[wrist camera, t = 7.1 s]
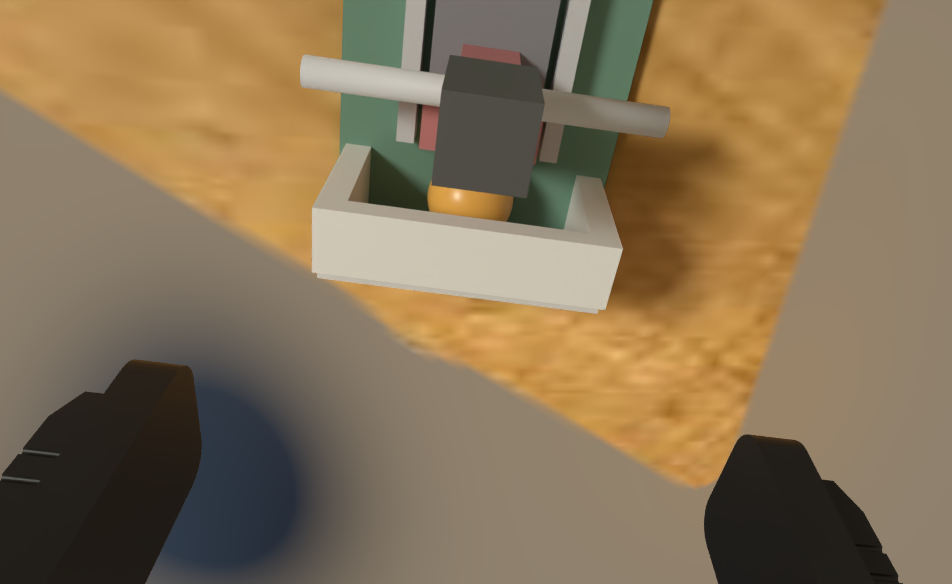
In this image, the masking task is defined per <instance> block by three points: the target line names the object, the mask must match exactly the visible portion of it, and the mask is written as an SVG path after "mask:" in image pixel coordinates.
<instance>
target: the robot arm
mask: <svg viewBox="0 0 952 584" xmlns="http://www.w3.org/2000/svg"><path fill="white" fill-rule="evenodd" d="M201 449H202V441H201V432H200V424H199V417H198V409H197V402H196V393H195V386H194V378H193V373H192V370H191V369H190V368H189V367H188V366H185V365H176V364H169V363H160V362H152V361H143V360H131V361H129V362H128V363H127V364H126V365H125V366H124V367H123V368H122V369H121V371H120V372H119V374H118V375H117V376H116V378H115V379H114V380H113V382H112V383H111V384H110V386H109V387H108V389H107V390H106V391H105V393H104V394H101V393H92V392H84V393H82V394H81V395H79V396H78V397H76V398H75V399H73V400H72V401H71V402H69V403H68V404H66V405H65V406H63V407H62V408H60V409H59V410H57V411H56V412H54V413H53V414H52V415H50V416H48V418H47V419H46V420H45V421H44V422H43V424H42V425H41V426H40V428H39V429H38V430H37V431H36V432H35V434H34V435H33V437H32V438H31V439H30V440H29V441H28V443H27V444H26V445H25V446H24V448H23V453H22V454H18V455H17V456H16V458H15V459H14V460H13V461H12V463H11V464H10V465H9V466H8V468H7V469H6V470H5V471H4V473H3V474H2V479H1V481H0V584H145V583H146V581H147V578H148V576H149V575H150V572H151V570H152V568H153V566H154V564H155V562H156V560H157V558H158V556H159V554H160V552H161V550H162V548H163V546H164V543H165V542H166V539H167V537H168V535H169V533H170V531H171V529H172V527H173V525H174V523H175V521H176V519H177V517H178V515H179V513H180V511H181V508H182V506H183V504H184V502H185V500H186V498H187V496H188V494H189V492H190V490H191V488H192V486H193V483H194V481H195V478H196V475H197V472H198V468H199V464H200V459H201ZM704 532H705V539H706V544H707V548H708V551H709V554H710V558H711V561H712V564H713V568H714V571H715V574H716V578H717V581H718V584H903V583H899V582H898V574H897V572H896V571H895V569H894V567H893V565H892V563H891V561H890V560H889V558H888V556H887V554H883V553H882V545H881V543H880V541H879V540H878V538H877V536H876V534H875V532H874V531H873V529H872V527H871V525H870V523H869V521H868V520H867V518H866V516H865V514H864V512H863V511H862V510H861V509H860V508H859V507H858V506H857V505H856V504H855V503H854V502H853V501H852V500H851V499H850V498H849V497H848V496H847V495H846V494H845V493H844V492H843V491H842V490H841V489H840V487H838V485H837V484H836V483H834V481H829V480H822V479H821V477H820V475H819V473H818V472H817V470H816V468H815V466H814V464H813V462H812V460H811V458H810V456H809V454H808V452H807V450H806V449H805V447H804V446H803V445H802V444H801V443H800V442H798V441H796V440H789V439H781V438H772V437H764V436H756V435H743V436H741V437H740V438H739V439H738V441H737V442H736V444H735V446H734V448H733V450H732V452H731V454H730V456H729V458H728V460H727V463H726V465H725V467H724V469H723V471H722V473H721V475H720V477H719V479H718V481H717V483H716V485H715V487H714V489H713V491H712V494H711V495H710V497H709V500H708V502H707V505H706V510H705V517H704Z"/></svg>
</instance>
